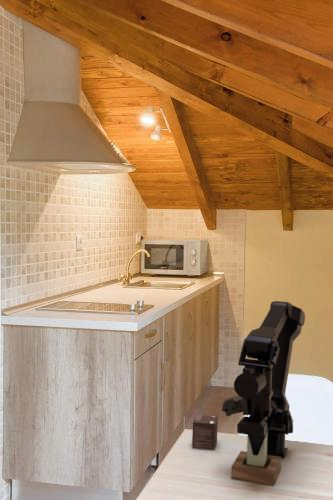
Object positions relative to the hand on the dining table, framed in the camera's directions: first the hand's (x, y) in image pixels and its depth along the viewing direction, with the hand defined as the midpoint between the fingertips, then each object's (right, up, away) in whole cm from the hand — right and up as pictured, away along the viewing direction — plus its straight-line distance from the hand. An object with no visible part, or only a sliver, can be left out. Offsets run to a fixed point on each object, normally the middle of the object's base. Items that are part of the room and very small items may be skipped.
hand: (257, 451), depth 148 cm
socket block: (0, -5, 0) cm, 5 cm away
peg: (0, -3, 0) cm, 2 cm away
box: (-11, -4, +18) cm, 21 cm away
